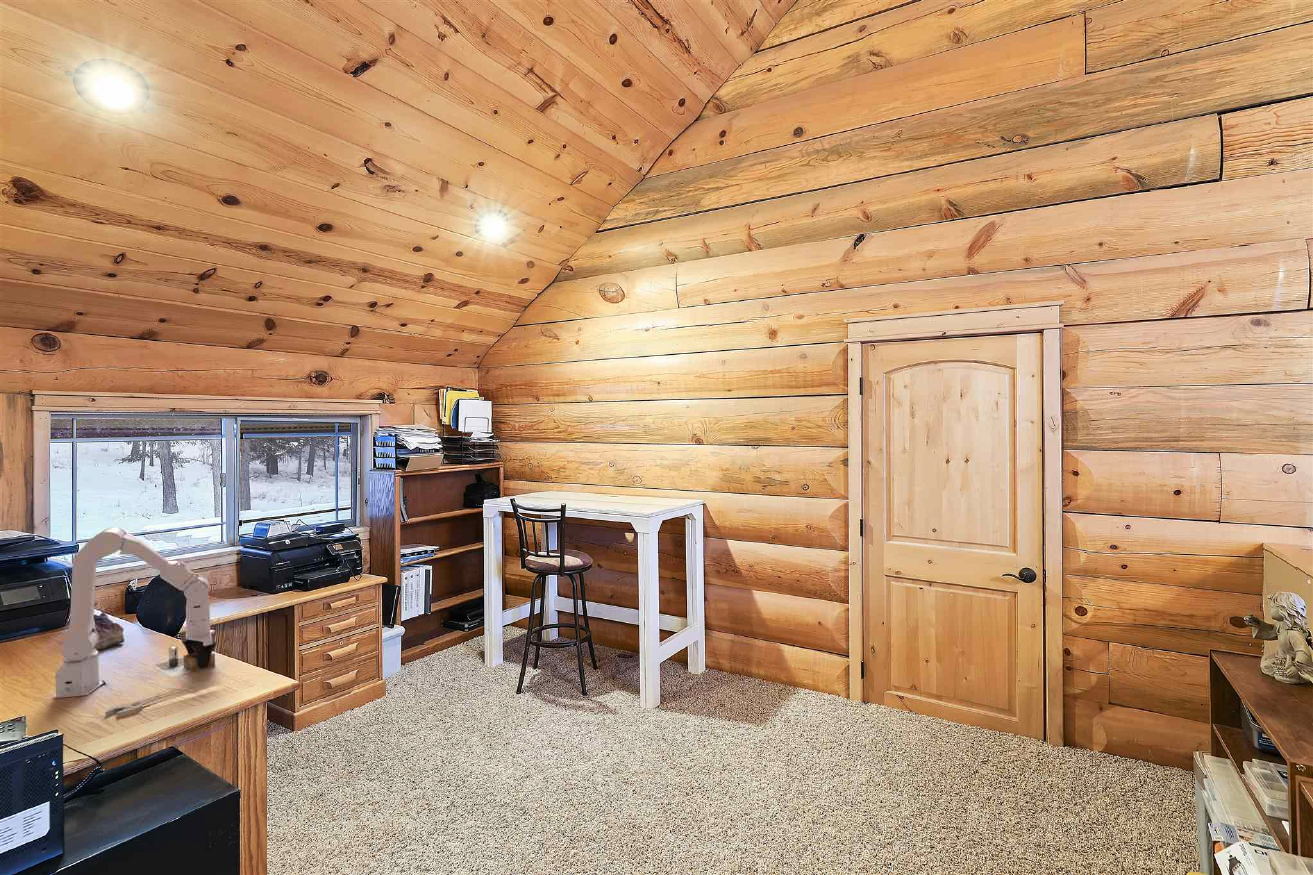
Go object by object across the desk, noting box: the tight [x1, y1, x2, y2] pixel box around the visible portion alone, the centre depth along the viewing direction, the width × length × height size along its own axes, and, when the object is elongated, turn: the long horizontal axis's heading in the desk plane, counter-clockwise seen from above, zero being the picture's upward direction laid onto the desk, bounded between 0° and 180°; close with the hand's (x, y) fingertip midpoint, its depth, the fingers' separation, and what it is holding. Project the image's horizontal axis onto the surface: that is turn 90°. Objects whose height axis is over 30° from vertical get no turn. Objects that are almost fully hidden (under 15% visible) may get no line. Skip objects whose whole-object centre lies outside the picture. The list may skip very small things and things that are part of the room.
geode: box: [94, 611, 125, 651], centre depth 215 cm, size 20×12×10 cm, turn 51°
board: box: [153, 661, 219, 678], centre depth 193 cm, size 14×12×1 cm
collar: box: [182, 652, 216, 672], centre depth 192 cm, size 6×6×3 cm
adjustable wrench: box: [104, 678, 219, 719], centre depth 172 cm, size 25×6×2 cm, turn 146°
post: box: [155, 645, 184, 670], centre depth 194 cm, size 7×7×5 cm
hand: (199, 664), depth 192 cm, fingers closed on collar, 6 cm apart
